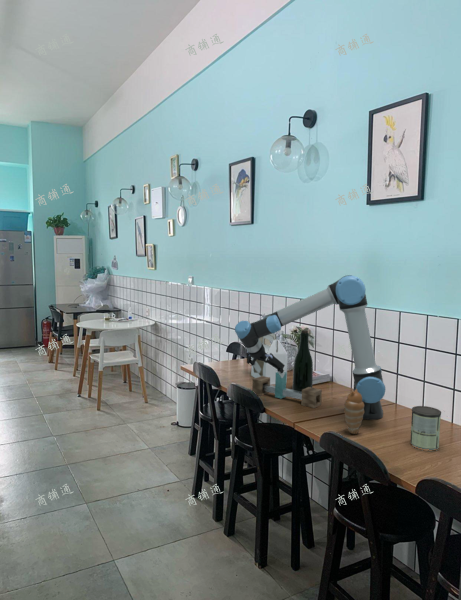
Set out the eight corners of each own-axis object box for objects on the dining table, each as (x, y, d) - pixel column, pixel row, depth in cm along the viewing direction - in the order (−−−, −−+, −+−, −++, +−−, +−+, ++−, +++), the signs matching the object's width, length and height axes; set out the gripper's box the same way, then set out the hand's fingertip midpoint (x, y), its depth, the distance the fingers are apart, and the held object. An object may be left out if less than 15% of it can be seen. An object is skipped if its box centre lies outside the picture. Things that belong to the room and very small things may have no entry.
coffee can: (405, 440, 182) (407, 405, 181) (431, 440, 182) (433, 405, 181) (416, 451, 172) (419, 414, 170) (444, 451, 172) (446, 414, 171)
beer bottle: (311, 389, 252) (313, 329, 249) (312, 394, 241) (315, 332, 239) (292, 388, 253) (294, 328, 250) (292, 393, 242) (295, 331, 240)
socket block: (269, 392, 244) (270, 377, 243) (260, 396, 236) (260, 380, 236) (261, 390, 247) (262, 375, 246) (252, 394, 239) (252, 379, 239)
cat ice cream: (347, 428, 193) (349, 386, 192) (366, 432, 189) (368, 389, 187) (339, 434, 186) (341, 390, 185) (358, 439, 182) (360, 394, 180)
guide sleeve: (321, 404, 225) (321, 389, 224) (314, 408, 219) (315, 392, 219) (308, 401, 229) (308, 386, 228) (301, 405, 223) (301, 389, 223)
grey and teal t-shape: (309, 402, 227) (310, 377, 226) (305, 404, 224) (306, 378, 223) (261, 391, 244) (262, 367, 242) (257, 393, 240) (258, 369, 239)
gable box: (250, 375, 279) (252, 329, 276) (271, 374, 283) (272, 329, 281) (265, 385, 258) (267, 335, 256) (286, 383, 262) (288, 334, 260)
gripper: (229, 350, 219) (247, 375, 232) (274, 357, 204) (290, 384, 217) (236, 337, 223) (253, 363, 236) (280, 344, 208) (296, 371, 221)
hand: (271, 373), depth 227 cm, fingers open, 13 cm apart
